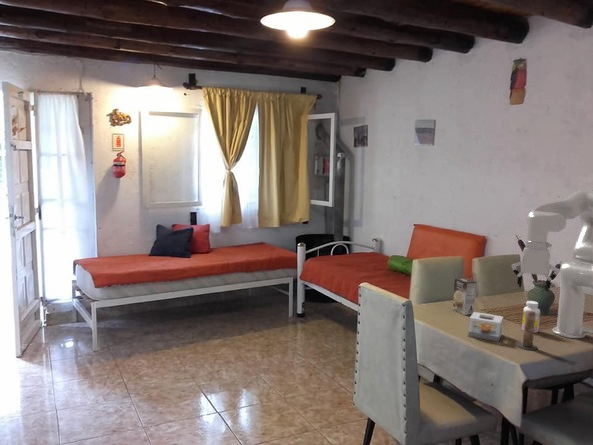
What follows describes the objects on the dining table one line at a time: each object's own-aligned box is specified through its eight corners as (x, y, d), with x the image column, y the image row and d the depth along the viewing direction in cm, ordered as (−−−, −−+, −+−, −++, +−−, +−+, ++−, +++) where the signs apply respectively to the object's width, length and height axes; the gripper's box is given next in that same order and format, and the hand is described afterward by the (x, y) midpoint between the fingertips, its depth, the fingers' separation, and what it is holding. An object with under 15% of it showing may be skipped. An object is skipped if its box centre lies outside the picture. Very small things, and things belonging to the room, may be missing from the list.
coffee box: (451, 309, 257) (453, 278, 255) (462, 308, 259) (464, 277, 257) (463, 315, 249) (466, 282, 247) (474, 314, 251) (477, 281, 249)
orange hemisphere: (491, 329, 221) (491, 325, 221) (489, 332, 218) (490, 327, 218) (481, 327, 223) (481, 323, 223) (479, 330, 220) (480, 325, 219)
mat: (537, 346, 210) (537, 345, 210) (536, 351, 204) (536, 350, 204) (519, 342, 213) (519, 341, 213) (517, 348, 207) (517, 347, 207)
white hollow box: (501, 334, 222) (503, 316, 221) (498, 341, 214) (499, 322, 213) (472, 329, 228) (473, 311, 227) (468, 336, 219) (469, 317, 218)
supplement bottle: (524, 327, 234) (526, 299, 232) (540, 330, 229) (542, 302, 228) (519, 330, 228) (522, 302, 227) (535, 334, 224) (538, 305, 223)
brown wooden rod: (532, 345, 209) (535, 312, 207) (532, 348, 206) (535, 314, 204) (523, 344, 211) (526, 310, 209) (522, 346, 208) (525, 312, 206)
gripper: (561, 246, 202) (558, 288, 205) (514, 241, 210) (511, 283, 213) (561, 249, 196) (557, 293, 198) (511, 244, 204) (508, 287, 206)
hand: (533, 288), depth 205 cm, fingers open, 9 cm apart
